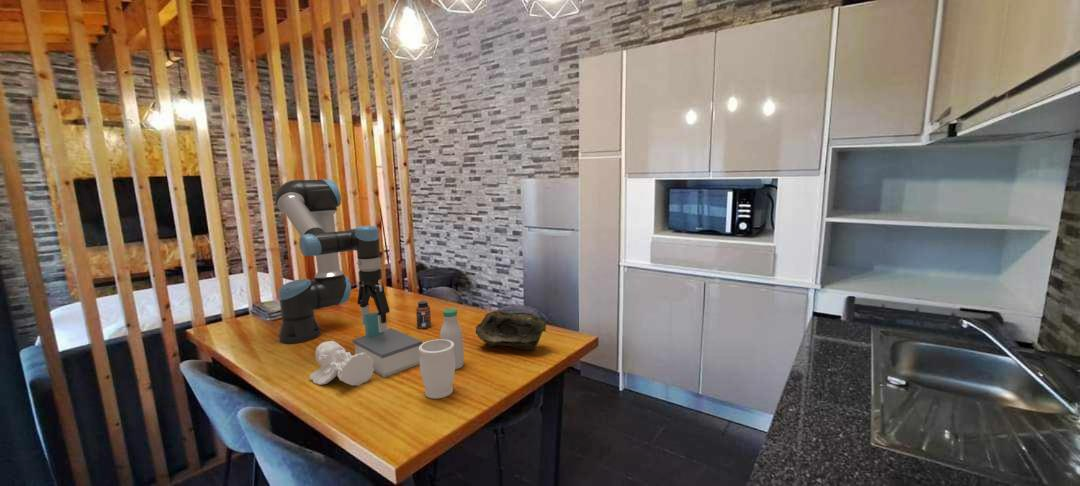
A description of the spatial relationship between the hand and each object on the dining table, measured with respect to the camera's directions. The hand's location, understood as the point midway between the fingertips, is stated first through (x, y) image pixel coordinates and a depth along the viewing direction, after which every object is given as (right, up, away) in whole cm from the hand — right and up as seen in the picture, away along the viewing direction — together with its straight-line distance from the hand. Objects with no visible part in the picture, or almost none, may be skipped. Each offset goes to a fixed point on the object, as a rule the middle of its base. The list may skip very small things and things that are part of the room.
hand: (374, 327), depth 156 cm
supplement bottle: (+9, -6, +32) cm, 34 cm away
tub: (+7, -12, -4) cm, 14 cm away
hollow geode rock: (+50, -9, +7) cm, 51 cm away
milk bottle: (+30, -12, -8) cm, 33 cm away
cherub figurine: (-5, -14, -16) cm, 22 cm away
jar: (+30, -15, -26) cm, 42 cm away
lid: (+6, -5, -5) cm, 9 cm away
